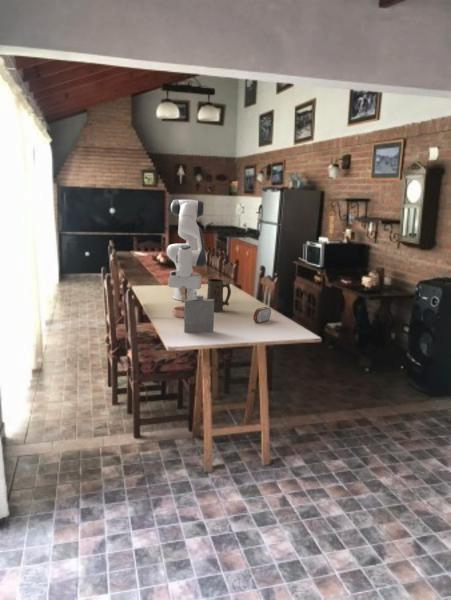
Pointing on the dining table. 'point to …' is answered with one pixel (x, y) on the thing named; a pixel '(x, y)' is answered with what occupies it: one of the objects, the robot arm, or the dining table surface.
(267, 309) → the tin
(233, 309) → the dining table surface
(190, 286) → the robot arm
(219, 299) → the beer stein
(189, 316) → the hip flask
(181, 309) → the candle jar
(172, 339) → the dining table surface
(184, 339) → the dining table surface
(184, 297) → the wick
